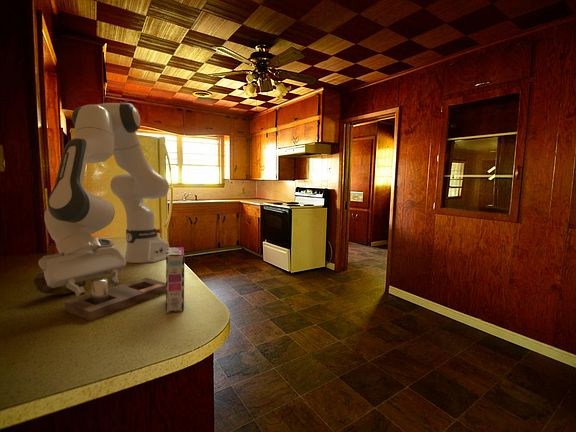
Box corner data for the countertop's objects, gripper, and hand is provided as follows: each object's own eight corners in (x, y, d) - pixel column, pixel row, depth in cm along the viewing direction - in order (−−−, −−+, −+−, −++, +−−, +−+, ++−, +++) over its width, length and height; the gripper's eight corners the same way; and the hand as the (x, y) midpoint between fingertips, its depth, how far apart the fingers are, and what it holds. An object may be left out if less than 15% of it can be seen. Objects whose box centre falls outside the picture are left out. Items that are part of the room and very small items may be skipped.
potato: (87, 293, 93) (86, 269, 92) (33, 302, 85) (32, 276, 84) (85, 286, 100) (84, 263, 99) (35, 293, 92) (34, 268, 91)
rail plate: (146, 284, 103) (146, 277, 103) (170, 291, 98) (169, 283, 97) (65, 310, 81) (64, 300, 81) (90, 320, 76) (89, 310, 75)
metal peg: (103, 303, 86) (102, 277, 85) (111, 306, 84) (110, 279, 84) (88, 308, 83) (87, 280, 82) (97, 311, 81) (96, 283, 80)
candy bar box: (184, 311, 83) (184, 254, 81) (165, 313, 81) (165, 255, 79) (184, 296, 93) (183, 246, 92) (166, 298, 91) (166, 246, 90)
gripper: (39, 250, 76) (61, 294, 72) (117, 238, 94) (137, 273, 90) (32, 264, 78) (52, 307, 75) (109, 250, 96) (128, 285, 93)
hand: (99, 289), depth 83 cm, fingers open, 8 cm apart
